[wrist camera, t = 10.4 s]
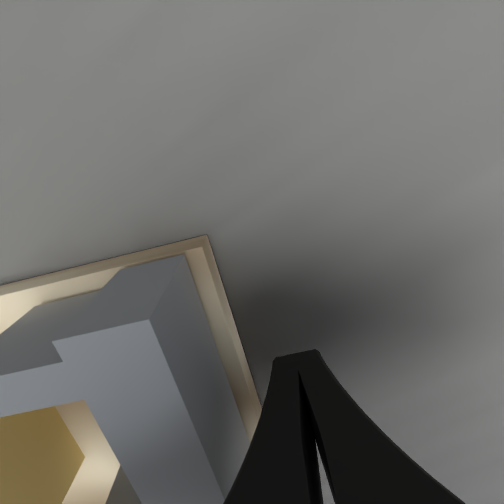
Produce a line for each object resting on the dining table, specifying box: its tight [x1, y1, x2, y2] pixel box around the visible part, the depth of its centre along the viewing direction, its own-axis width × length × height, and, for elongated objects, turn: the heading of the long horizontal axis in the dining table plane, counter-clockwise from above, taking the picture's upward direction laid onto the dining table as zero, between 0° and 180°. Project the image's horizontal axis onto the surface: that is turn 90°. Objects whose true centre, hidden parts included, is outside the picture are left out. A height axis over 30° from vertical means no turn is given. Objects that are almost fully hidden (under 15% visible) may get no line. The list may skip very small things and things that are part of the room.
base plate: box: [0, 235, 262, 504], centre depth 11 cm, size 10×13×4 cm
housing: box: [0, 254, 250, 504], centre depth 10 cm, size 9×5×4 cm, turn 14°
